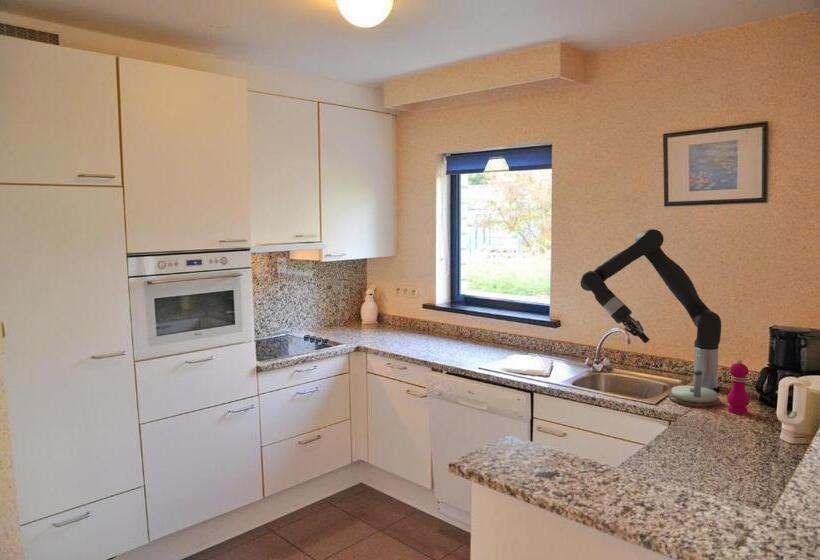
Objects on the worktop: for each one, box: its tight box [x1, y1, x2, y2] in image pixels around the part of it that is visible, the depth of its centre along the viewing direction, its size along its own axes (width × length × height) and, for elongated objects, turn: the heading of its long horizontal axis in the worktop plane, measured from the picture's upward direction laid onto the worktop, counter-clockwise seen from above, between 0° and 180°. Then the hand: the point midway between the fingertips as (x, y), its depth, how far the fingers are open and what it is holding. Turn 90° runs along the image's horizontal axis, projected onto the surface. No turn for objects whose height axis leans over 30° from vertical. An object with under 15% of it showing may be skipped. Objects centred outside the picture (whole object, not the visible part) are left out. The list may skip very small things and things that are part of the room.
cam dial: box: [670, 370, 718, 403], centre depth 232 cm, size 16×16×12 cm
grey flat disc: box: [668, 391, 720, 409], centre depth 233 cm, size 18×18×2 cm
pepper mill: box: [726, 359, 750, 415], centre depth 218 cm, size 7×7×20 cm
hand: (647, 341), depth 236 cm, fingers closed
